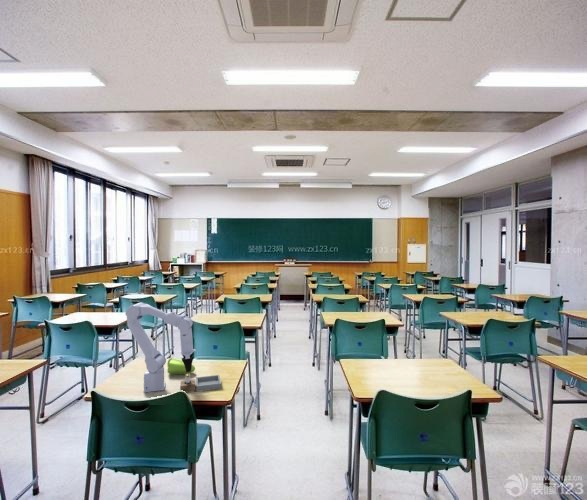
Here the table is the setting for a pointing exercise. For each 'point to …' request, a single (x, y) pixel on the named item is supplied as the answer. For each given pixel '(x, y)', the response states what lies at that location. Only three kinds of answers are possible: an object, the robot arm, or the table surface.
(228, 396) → the table surface
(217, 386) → the tray
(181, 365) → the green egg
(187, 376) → the pin
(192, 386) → the pin block
